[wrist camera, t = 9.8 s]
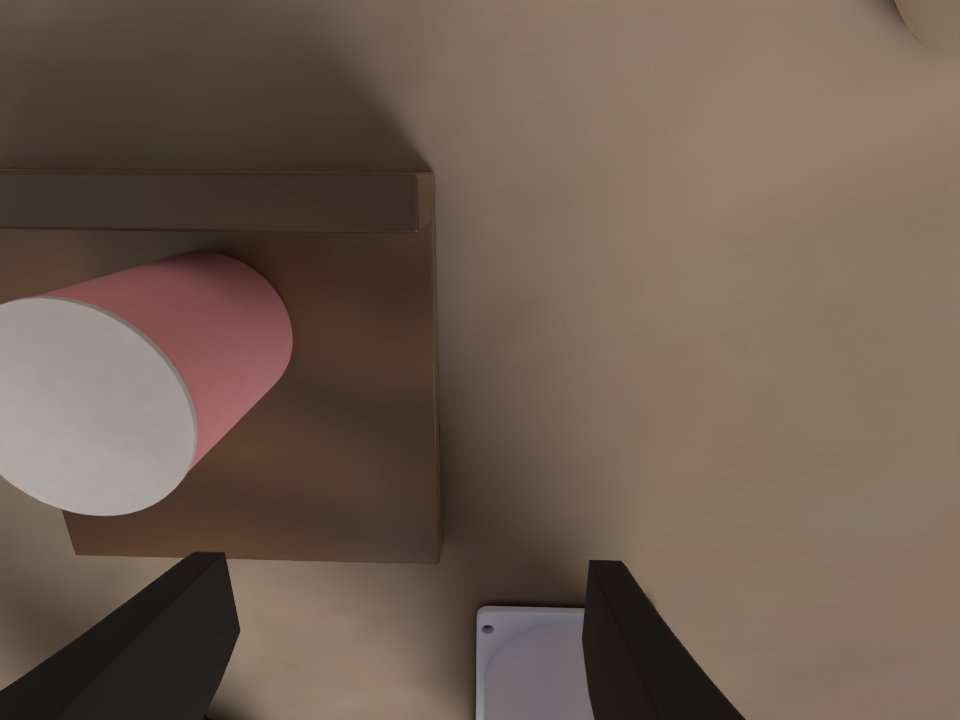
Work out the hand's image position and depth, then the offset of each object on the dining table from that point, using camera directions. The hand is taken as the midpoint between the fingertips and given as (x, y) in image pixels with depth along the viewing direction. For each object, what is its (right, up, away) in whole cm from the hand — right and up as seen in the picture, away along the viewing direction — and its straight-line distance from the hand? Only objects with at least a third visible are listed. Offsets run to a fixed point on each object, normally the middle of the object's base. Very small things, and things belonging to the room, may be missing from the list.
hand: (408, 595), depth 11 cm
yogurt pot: (-8, +6, +8) cm, 12 cm away
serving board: (-8, +4, +10) cm, 13 cm away
